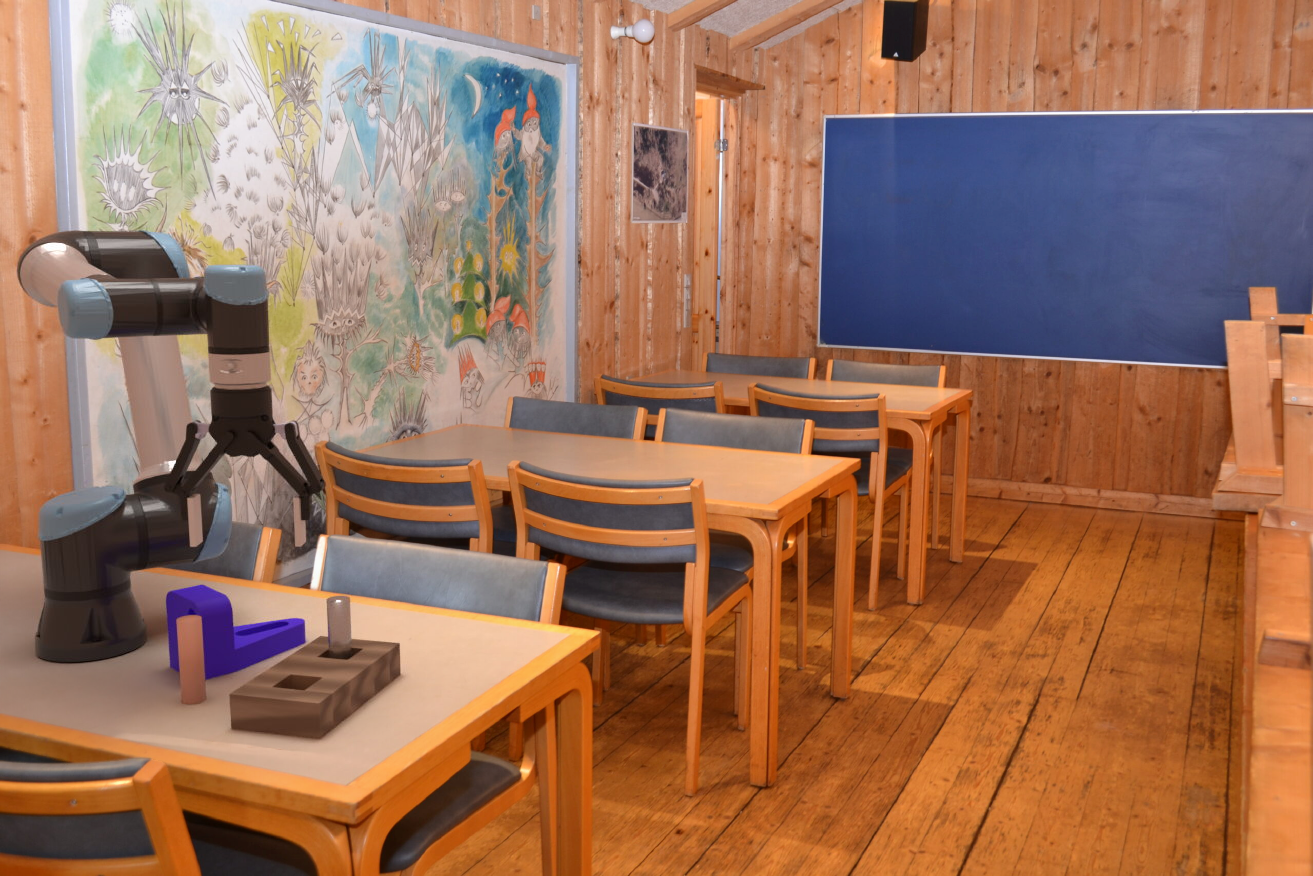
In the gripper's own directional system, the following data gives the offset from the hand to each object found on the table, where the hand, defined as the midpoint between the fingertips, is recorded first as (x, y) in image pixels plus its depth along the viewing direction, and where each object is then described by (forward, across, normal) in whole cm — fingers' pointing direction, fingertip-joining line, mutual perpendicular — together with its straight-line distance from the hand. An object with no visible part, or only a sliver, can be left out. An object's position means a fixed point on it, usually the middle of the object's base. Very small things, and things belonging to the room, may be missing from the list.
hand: (248, 544), depth 154 cm
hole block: (+20, +10, -6) cm, 24 cm away
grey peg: (+19, +12, -1) cm, 23 cm away
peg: (+20, -6, -6) cm, 22 cm away
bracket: (+21, -4, +11) cm, 24 cm away
